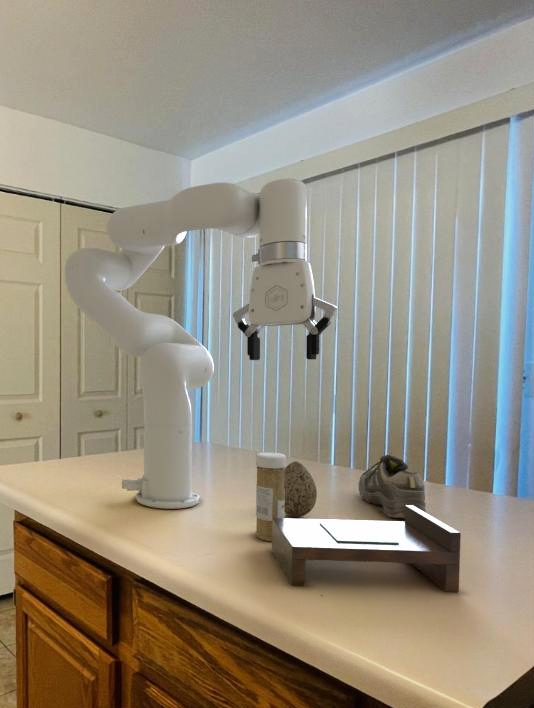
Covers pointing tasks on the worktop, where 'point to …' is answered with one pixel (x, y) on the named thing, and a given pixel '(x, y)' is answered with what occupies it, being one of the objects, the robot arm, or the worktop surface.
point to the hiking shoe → (392, 487)
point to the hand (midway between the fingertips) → (282, 359)
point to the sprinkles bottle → (269, 491)
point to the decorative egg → (298, 490)
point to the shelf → (370, 545)
